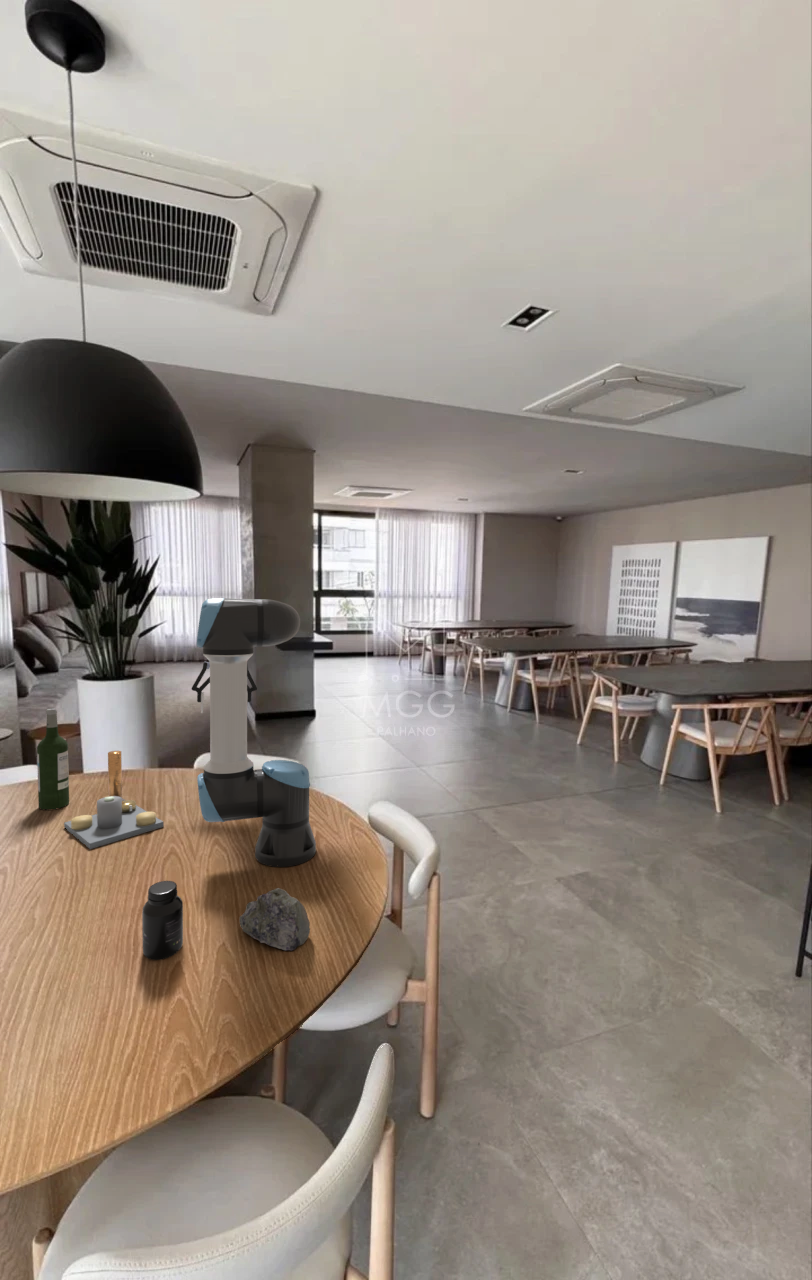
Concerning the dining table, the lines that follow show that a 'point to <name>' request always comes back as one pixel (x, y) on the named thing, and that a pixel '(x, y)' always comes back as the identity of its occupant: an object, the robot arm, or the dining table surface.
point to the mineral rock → (276, 920)
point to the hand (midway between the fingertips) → (224, 712)
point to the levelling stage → (114, 833)
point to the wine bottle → (52, 766)
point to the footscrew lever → (117, 780)
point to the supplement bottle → (162, 921)
